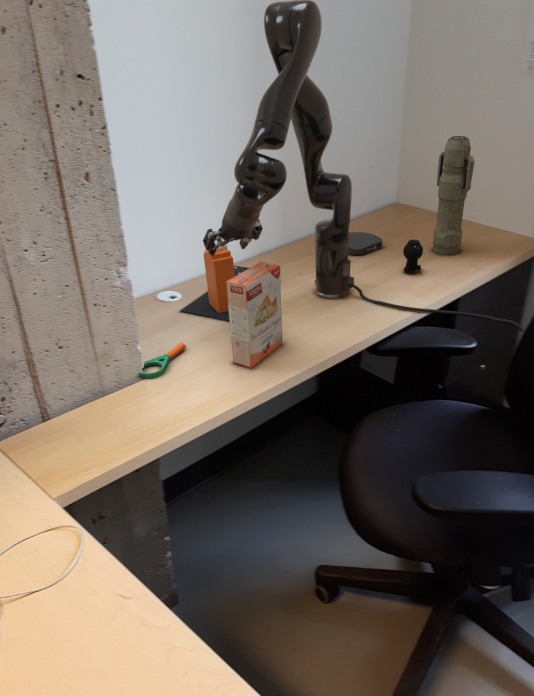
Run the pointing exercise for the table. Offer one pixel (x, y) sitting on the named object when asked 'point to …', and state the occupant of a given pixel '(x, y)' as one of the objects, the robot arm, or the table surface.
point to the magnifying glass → (162, 361)
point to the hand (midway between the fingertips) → (226, 249)
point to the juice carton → (218, 277)
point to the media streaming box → (363, 243)
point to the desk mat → (205, 309)
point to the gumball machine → (412, 256)
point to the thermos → (452, 194)
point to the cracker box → (255, 313)
